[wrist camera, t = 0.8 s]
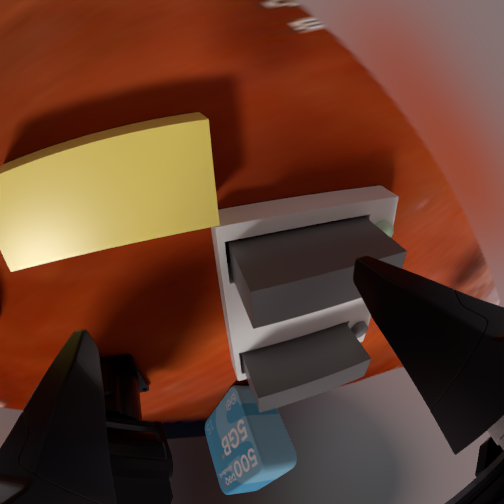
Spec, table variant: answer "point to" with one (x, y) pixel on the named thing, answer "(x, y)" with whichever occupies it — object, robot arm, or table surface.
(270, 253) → the block
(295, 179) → the table surface
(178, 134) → the pale yellow pad
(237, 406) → the data package
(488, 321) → the robot arm
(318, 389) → the block
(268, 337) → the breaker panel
